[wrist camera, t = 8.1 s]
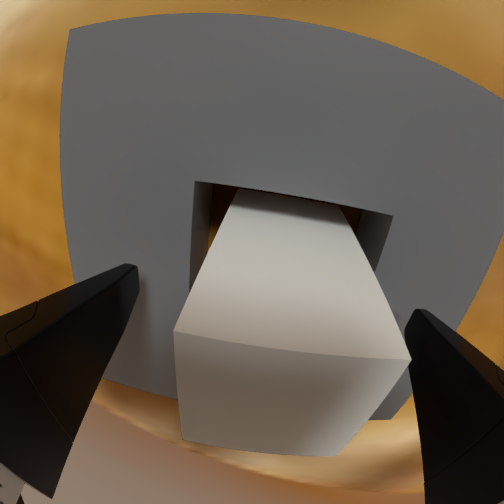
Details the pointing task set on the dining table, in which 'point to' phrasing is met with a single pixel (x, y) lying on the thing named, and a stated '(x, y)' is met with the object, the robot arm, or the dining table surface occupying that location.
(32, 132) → the dining table surface
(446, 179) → the socket block
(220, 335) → the plug peg
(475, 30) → the dining table surface
